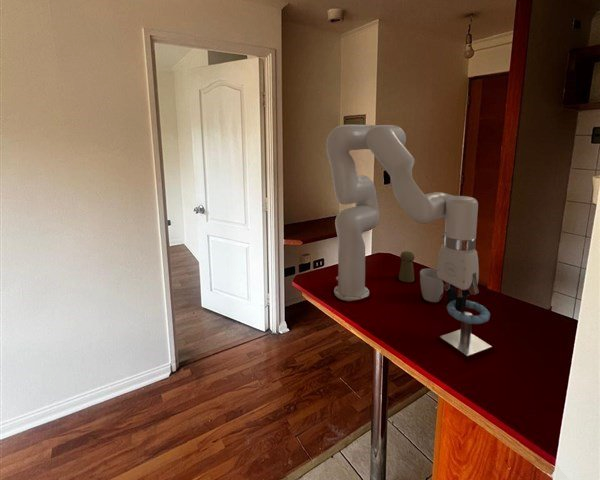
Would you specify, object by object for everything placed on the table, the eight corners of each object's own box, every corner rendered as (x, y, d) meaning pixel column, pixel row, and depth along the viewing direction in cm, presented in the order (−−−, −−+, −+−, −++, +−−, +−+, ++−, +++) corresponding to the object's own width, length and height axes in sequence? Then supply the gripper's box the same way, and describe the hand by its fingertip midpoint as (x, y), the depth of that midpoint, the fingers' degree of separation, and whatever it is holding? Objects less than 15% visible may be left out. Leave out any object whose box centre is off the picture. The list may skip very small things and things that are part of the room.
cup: (446, 307, 107) (448, 279, 105) (420, 305, 108) (422, 277, 107) (441, 295, 114) (442, 269, 113) (417, 294, 116) (418, 267, 114)
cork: (395, 277, 130) (396, 250, 128) (408, 274, 132) (409, 249, 130) (404, 283, 125) (405, 256, 123) (417, 280, 126) (419, 254, 124)
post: (439, 340, 90) (441, 309, 88) (462, 332, 93) (464, 302, 92) (467, 360, 82) (469, 327, 80) (491, 350, 85) (494, 318, 84)
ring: (438, 309, 89) (439, 303, 88) (465, 301, 92) (465, 295, 92) (470, 329, 79) (470, 321, 79) (498, 319, 83) (499, 312, 83)
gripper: (426, 236, 92) (423, 297, 95) (476, 254, 78) (471, 325, 81) (445, 233, 95) (442, 291, 98) (497, 249, 80) (492, 318, 83)
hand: (455, 306), depth 89 cm, fingers closed on ring, 2 cm apart
